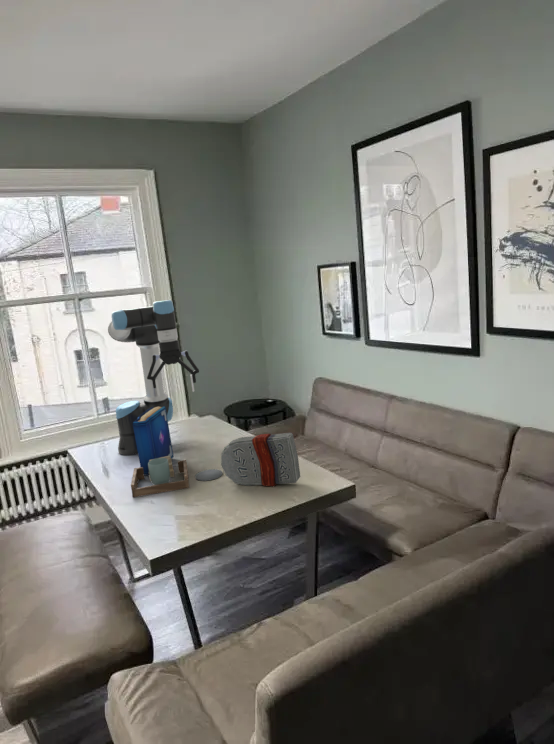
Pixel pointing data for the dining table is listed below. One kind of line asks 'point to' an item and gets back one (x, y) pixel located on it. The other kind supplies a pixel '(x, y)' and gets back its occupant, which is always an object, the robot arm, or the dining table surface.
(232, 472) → the decorative stone tablet
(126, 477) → the dining table surface
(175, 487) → the wooden tray
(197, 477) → the mat
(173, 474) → the offcut low
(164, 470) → the cup
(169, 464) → the offcut top
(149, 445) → the book
